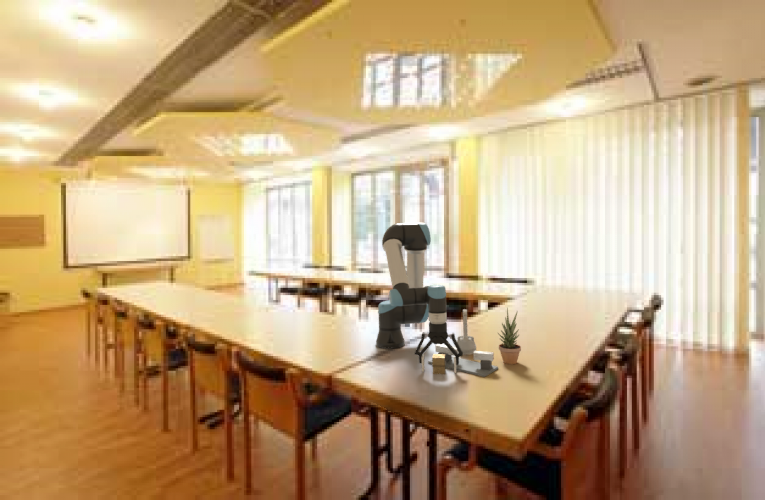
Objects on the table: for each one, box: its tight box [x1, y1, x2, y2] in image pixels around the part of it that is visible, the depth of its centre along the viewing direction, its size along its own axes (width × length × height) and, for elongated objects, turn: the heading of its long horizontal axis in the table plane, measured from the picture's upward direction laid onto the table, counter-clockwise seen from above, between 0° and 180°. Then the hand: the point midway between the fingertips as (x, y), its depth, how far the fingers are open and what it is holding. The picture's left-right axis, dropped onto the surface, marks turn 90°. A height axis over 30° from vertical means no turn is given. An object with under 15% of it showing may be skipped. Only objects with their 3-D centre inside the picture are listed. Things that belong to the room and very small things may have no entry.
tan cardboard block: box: [431, 353, 446, 375], centre depth 174 cm, size 5×5×7 cm
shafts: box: [434, 343, 495, 362], centre depth 181 cm, size 27×6×3 cm, turn 48°
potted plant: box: [497, 307, 522, 365], centre depth 183 cm, size 10×10×25 cm
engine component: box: [456, 309, 477, 356], centre depth 201 cm, size 11×20×10 cm
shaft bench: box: [427, 352, 499, 378], centre depth 180 cm, size 28×12×4 cm, turn 48°
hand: (439, 371), depth 174 cm, fingers open, 13 cm apart
